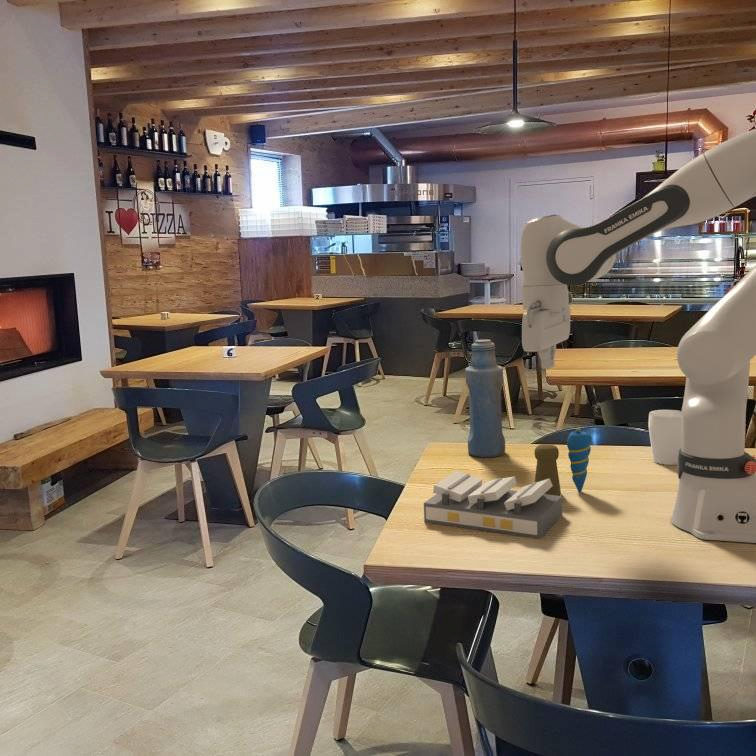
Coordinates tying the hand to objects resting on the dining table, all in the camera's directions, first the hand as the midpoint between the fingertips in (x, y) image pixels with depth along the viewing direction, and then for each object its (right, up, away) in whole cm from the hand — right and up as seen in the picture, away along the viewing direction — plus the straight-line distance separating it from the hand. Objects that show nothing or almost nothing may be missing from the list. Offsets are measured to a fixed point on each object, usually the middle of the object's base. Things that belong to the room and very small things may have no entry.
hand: (548, 368), depth 160 cm
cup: (+37, -23, +35) cm, 55 cm away
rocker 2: (-5, -25, -5) cm, 25 cm away
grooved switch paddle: (-18, -24, +3) cm, 30 cm away
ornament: (+10, -27, +14) cm, 32 cm away
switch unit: (-11, -30, 0) cm, 32 cm away
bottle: (-6, -22, +49) cm, 54 cm away
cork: (+3, -28, +14) cm, 31 cm away
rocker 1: (-11, -24, -1) cm, 27 cm away
